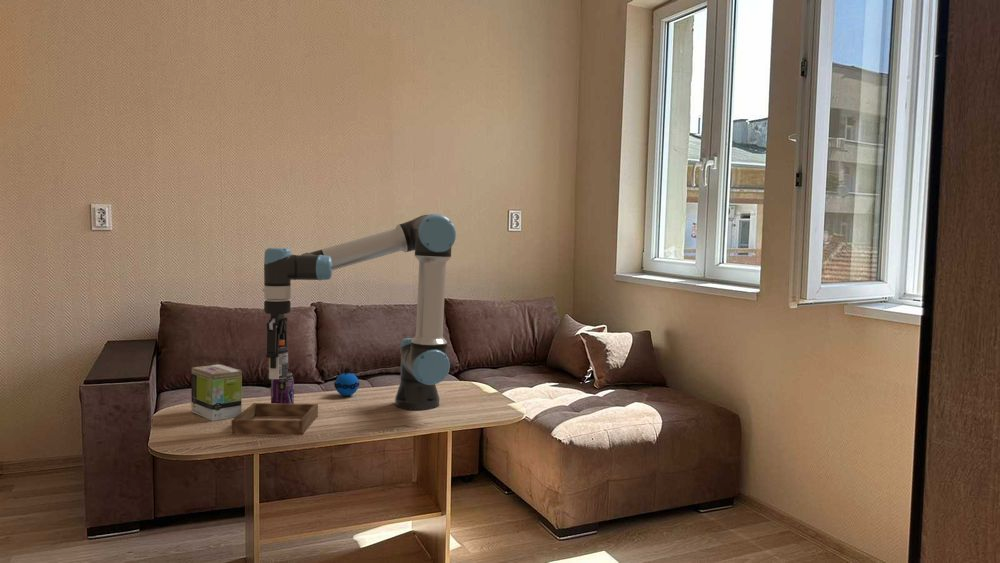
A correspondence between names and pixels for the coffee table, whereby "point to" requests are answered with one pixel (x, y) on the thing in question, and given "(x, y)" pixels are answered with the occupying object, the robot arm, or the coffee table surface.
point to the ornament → (346, 383)
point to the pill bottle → (281, 360)
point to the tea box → (216, 392)
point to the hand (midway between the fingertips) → (277, 376)
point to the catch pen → (275, 427)
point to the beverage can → (283, 390)
